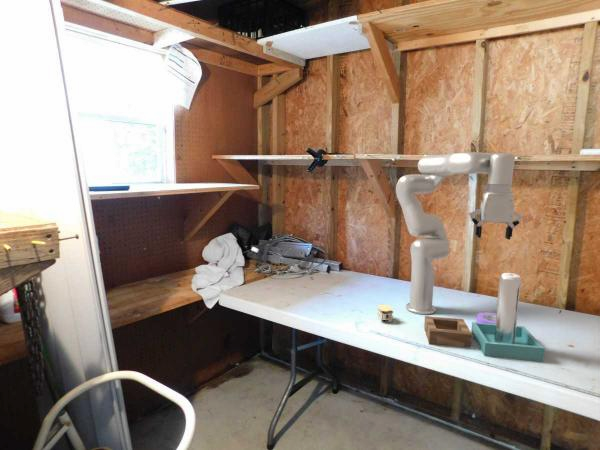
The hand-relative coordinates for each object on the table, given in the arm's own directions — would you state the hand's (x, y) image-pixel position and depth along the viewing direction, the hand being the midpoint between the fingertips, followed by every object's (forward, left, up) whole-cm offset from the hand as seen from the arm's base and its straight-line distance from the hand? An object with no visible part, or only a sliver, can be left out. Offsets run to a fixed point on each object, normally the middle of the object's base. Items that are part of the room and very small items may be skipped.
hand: (492, 237), depth 138 cm
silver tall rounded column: (+5, +5, -37) cm, 38 cm away
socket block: (+2, -14, -38) cm, 40 cm away
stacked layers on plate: (-10, -35, -38) cm, 53 cm away
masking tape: (-13, +6, -38) cm, 41 cm away
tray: (+5, +5, -38) cm, 38 cm away
